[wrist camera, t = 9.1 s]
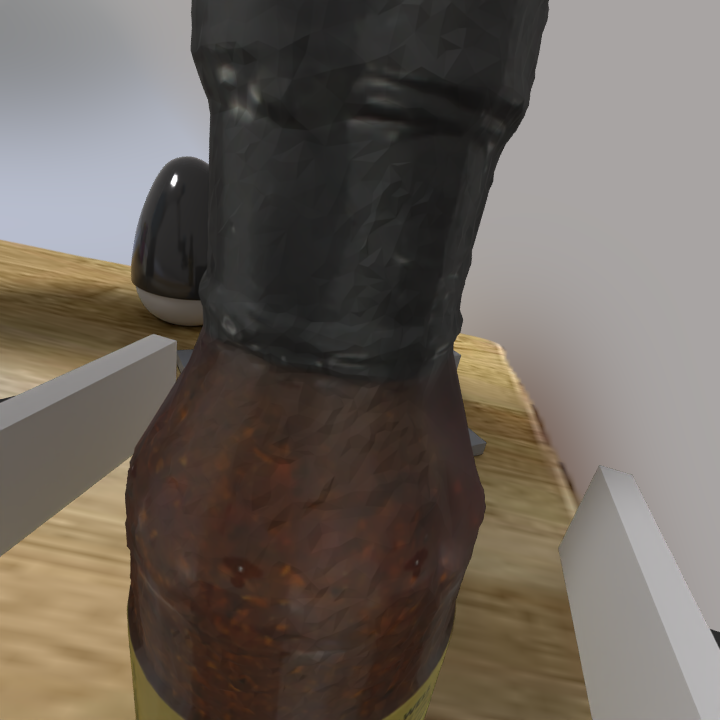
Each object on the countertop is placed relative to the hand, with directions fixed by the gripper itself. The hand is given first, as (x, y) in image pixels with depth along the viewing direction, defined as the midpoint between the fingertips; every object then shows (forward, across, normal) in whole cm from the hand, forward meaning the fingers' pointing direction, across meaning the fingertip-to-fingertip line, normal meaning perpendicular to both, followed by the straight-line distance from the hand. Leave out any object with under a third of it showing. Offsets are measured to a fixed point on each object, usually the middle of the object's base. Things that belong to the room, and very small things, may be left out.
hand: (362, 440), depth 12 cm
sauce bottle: (-4, 0, -11) cm, 12 cm away
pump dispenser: (+29, -24, -11) cm, 39 cm away
